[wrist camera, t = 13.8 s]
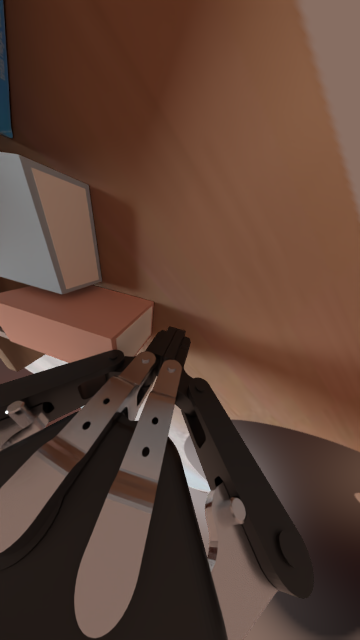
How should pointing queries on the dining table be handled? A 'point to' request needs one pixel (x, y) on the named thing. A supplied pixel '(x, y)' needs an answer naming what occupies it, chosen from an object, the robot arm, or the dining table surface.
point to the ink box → (4, 81)
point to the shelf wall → (10, 351)
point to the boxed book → (76, 321)
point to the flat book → (45, 227)
